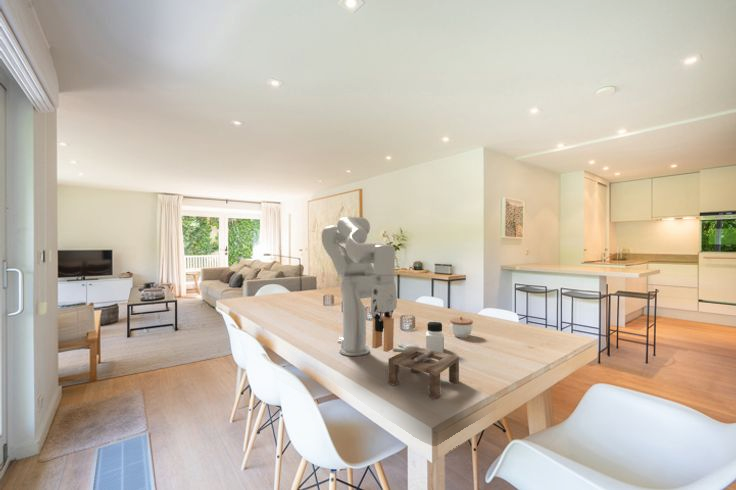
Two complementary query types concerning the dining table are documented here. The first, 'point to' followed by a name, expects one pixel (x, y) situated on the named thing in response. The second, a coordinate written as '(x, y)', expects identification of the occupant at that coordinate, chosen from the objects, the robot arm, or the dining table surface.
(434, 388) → the brown square frame
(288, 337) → the dining table surface
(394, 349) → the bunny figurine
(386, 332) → the orange boxy part
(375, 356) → the dining table surface
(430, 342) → the medicine bottle
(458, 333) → the lidded jar
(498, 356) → the dining table surface
